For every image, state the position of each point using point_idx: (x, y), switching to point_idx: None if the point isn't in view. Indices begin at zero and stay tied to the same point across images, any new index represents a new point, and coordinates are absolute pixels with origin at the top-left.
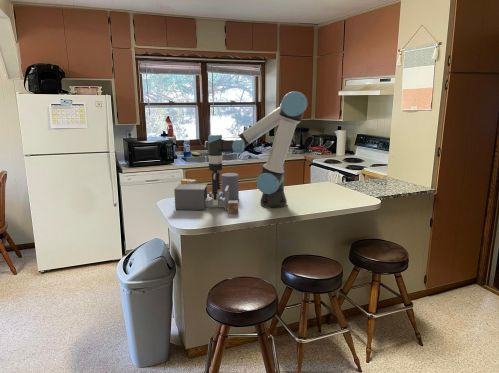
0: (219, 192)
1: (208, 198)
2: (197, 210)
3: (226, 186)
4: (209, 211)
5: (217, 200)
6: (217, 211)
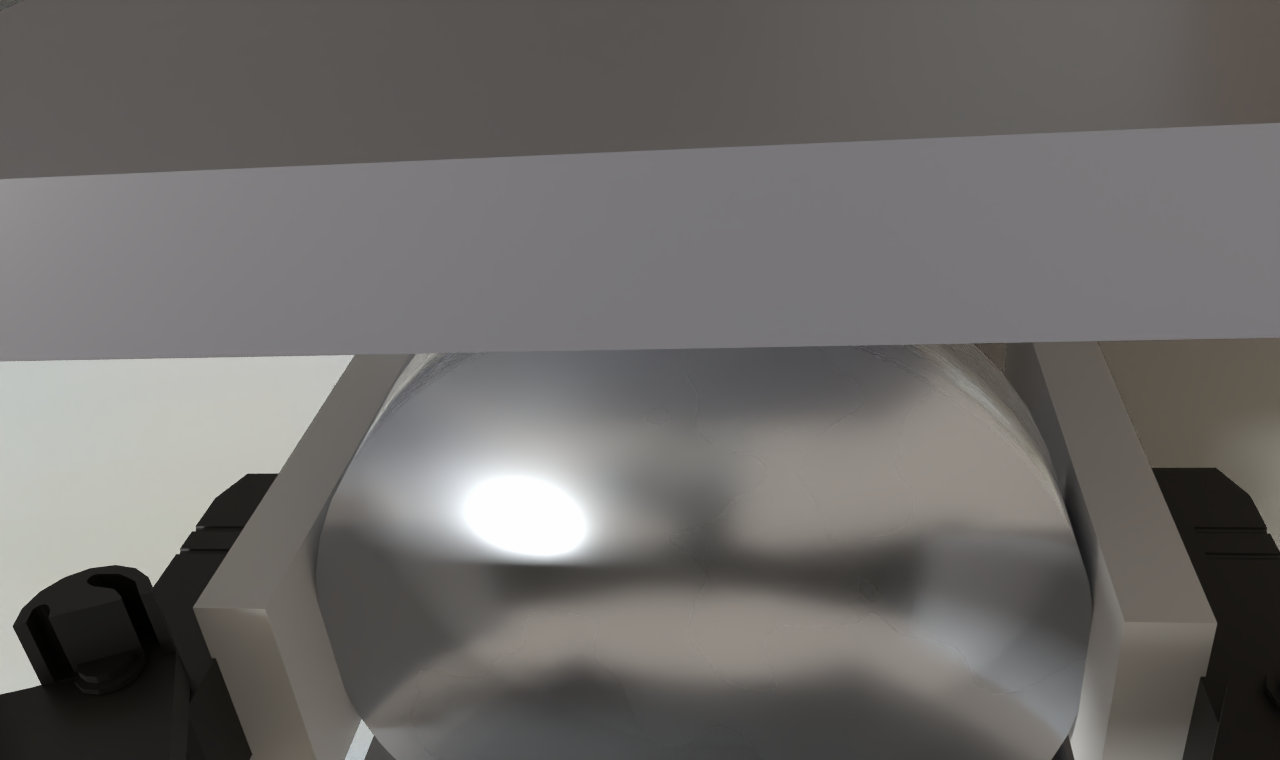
0: (496, 527)
1: None
2: None
3: (2, 353)
4: (1174, 430)
5: (1113, 400)
6: None
